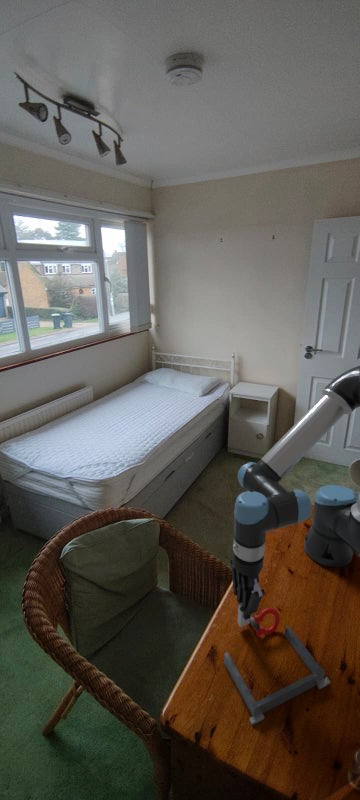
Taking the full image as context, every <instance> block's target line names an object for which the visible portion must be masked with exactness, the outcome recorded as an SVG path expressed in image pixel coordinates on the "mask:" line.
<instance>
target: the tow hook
mask: <svg viewBox="0 0 360 800" xmlns="http://www.w3.org/2000/svg"><path fill="white" fill-rule="evenodd" d="M269 614H271V615H273V616H274V622H273V624H272V626H271V627H269V628H264V627H263V626H261V625H260V622H263V620H264V618H265V617H266V616H267V615H269ZM280 620H281V618H280V613H279V612H278V610H277V609H275V608H273V607H267V608H265V609H263V610H262V611H261V612H260V614H254V616H251V617H250V621H249V623H251V625H252V627H253V628H254V629H255V635H256V637H258V638H259V637H261V635H265V636H266V635H271V634H273V633H274V632H275V631H276V630H277V629H278V627H279V625H280Z"/></svg>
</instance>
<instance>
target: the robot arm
mask: <svg viewBox="0 0 360 800" xmlns="http://www.w3.org/2000/svg"><path fill="white" fill-rule="evenodd" d="M321 392H322V393H321V395H322V396H321V397H320V398H319V399H318V400H316V402H315V403H314V404H313V405H312V406H311V407H310V408H309V409H308V410H307V411H306V412H305V413H304V414H303V415H302V416H301V418H299V419H298V421H296V423H295V424H294V425H293V426H291V428H289V430H288V431H287V432H286V433H285V434H283V436H282V437H281V438H280V439H279V440H278V441H277V442H276V443H274V445H273V446H272V447H271V448H270V449H269V450H268V451H267V453H266V454H264V456H262V457H261V459H260V460H258V462H254V461H253V462H252V461H249V462H247V463H246V464H245V463H244V464H243V465H242V466H241V467H240V468H239V470H238V473H237V480H238V483H239V484H240V486H241V487H242V488H243V489H244V491H243V492H241V493H240V494H239V495H237V498H236V499H235V504H234V511H233V515H234V516H233V517H234V519H233V544H232V558H230V560H229V562H230V567H231V568H230V569H231V577H232V590H233V595H234V596H236V601H237V602H238V603H237V625H238V626H239V627H240V628H242V627H246V626H247V625H250V617H251V614H254V613H257V612H258V609H259V606H260V603H261V601H262V598H263V597H264V596H265V595H266V590H264V589H263V588H262V587H260V585H259V584H260V577H259V575H260V573H261V572H262V569H263V567H264V560H265V559H264V557H265V550H266V549H265V548H266V536H267V532H271V531H274V530H275V531H276V530H277V529H281V528H285V527H290V526H294V525H297V524H299V523H302V522H305V521H306V520H308V519H310V517H311V516H312V522H311V526H310V528H309V530H308V532H307V533H306V535H305V537H304V541H303V549H304V552H305V553H306V555H307V556H308V557H309V558H310V559H312V561H314V562H316V563H317V564H320V565H323V566H325V567H329V568H342V567H346V566H347V565H349V564H350V563H351V562H352V560H353V555H354V552H355V554H357V555H358V557H360V493H359V495H358V497H357V493H356V492H355V491H354V490H353V489H351V488H349V487H346V486H344V485H335V484H331V485H330V484H329V485H324V486H322V487H320V488H318V489H317V491H316V494H315V498H314V505H312V502H311V499H310V498H309V496H308V494H307V493H306V492H304V490H301V489H295V490H294V489H293V490H292V489H291V490H288V489H286V488H285V486H283V485H282V484H281V483H279V482H280V481H282V479H283V478H284V477H285V476H286V475H287V474H288V473H289V472H290V470H291V469H292V468H294V467H295V466H296V464H298V463H299V462H300V460H302V458H303V457H304V456H305V455H306V454H307V453H308V452H309V451H310V450H311V449H312V448H313V447H314V446H315V445H316V444H317V443H318V442H319V441H320V440H321V439H322V438H323V437H324V436H325V435H326V434H327V432H329V430H331V428H332V427H333V426H335V424H337V423H338V421H340V419H341V418H342V417H343V416H344V415H350V414H351V413H352V412H354V410H355V409H358V408H360V365H358V366H355V367H353V368H352V367H351V368H350V369H348V370H346V371H344V372H342V373H341V374H340V375H338V376H336V378H334V379H333V380H332V381H330V382H329V383H328V384H327V385H326V386H325V387H324V388H323V390H322V391H321ZM312 510H313V512H312ZM312 513H313V514H312Z"/></svg>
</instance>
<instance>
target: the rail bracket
mask: <svg viewBox="0 0 360 800" xmlns="http://www.w3.org/2000/svg"><path fill="white" fill-rule="evenodd" d="M284 628H285V629H284V637H285V638H286V639H287V641H288V643H290V645H291V646H292V647H293V649H294V651H295V652H296V653H297V654H298V656H299V657H300V659H301V660H302V661H303V663H304V664H305V665H306V667H307V668H308V670H309V671H310V672H311V674H308V675H307V676H305V677H302V678H301V679H299V680H297V681H295V682H293V683H290V684H289V685H287V686H285V687H283V688H281V689H278V690H277V691H275V692H273V693H270V695H267V696H265V697H263V698H262V699H259V700H257V701H256V700H255V698H254V696H253V695H252V693H251V691H250V689H249V688H248V686H247V684H246V683H245V681H244V679H243V677H242V675H241V674H240V672H239V670H238V667H236V664H235V662H234V661H233V659H232V657H231V655H230V653H229V652H228V651H227V652H225V653H224V654H223V663H224V666H225V668H226V669H227V672H228V673H229V675H230V677H231V679H232V681H233V684H235V686H236V689H237V691H238V692H239V694H240V696H241V697H242V699H243V701H244V704H245V705H246V707H247V709H248V711H249V713H250V714H251V717H249V719H248V720H249V722H250V724H251V726H254V725H256V724H258V723H259V722H262V721H264V720H265V715H264V714H265V713H267V712H268V711H271V710H272V709H274V708H277V707H278V706H280V705H281V704H284V703H285V702H288V701H289V700H291V699H294V698H295V697H297V696H299V695H301V694H302V693H304V692H307V691H309V690H310V689H312V688H314V687H315V686H317V688H318V690H321V689H324V688H325V687H328V686H329V685H330V684H331V680H329V678H328V677H326V678H325V674H326V673H325V671H324V670H323V668H322V667H321V665H320V664H319V663H318V662H317V661H316V659H315V658H314V657H313V655H312V654H311V653H310V652H309V650H308V649H307V647H306V646H305V645H304V644H303V642H302V641H301V640H300V639H299V637H298V636H297V635H296V633H295V631H294V630H292V628H291V627H290V626H289V625H286V626H285V627H284Z"/></svg>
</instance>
